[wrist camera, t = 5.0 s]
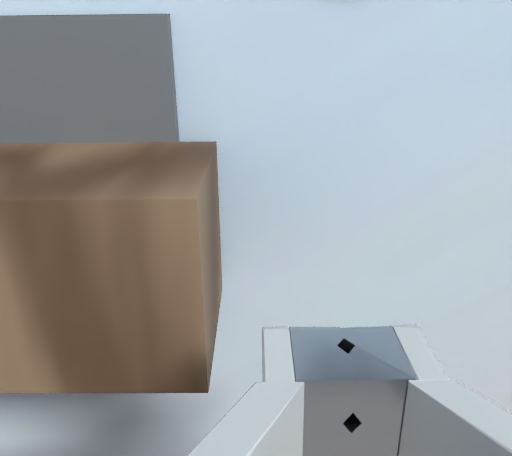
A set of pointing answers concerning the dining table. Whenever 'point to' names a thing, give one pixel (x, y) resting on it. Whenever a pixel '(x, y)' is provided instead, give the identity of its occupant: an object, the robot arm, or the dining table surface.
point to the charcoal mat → (87, 79)
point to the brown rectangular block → (108, 267)
